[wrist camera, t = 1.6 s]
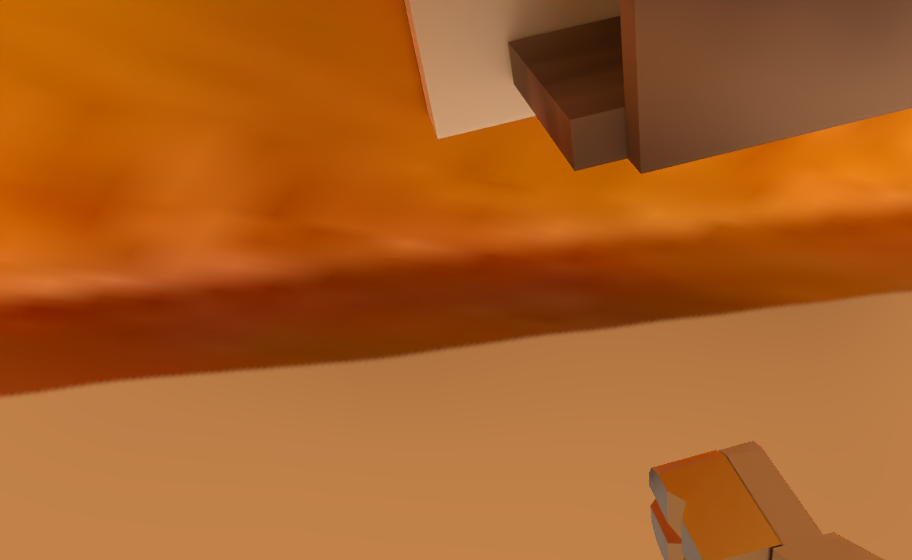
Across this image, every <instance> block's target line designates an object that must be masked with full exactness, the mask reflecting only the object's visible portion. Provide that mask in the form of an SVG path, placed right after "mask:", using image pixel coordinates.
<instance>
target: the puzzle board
mask: <svg viewBox="0 0 912 560" xmlns="http://www.w3.org/2000/svg"><path fill="white" fill-rule="evenodd" d="M404 2H405V6H406V11H407V16H408V21H409V25H410V30H411V35H412V40H413V44H414V49H415V54H416V58H417V63H418V68H419V73H420V77H421V82H422V87H423V92H424V96H425V101H426V106H427V111H428V115H429V118H430V120H431V123H432V125H433V128H434V131H435V133H436V136H437V139H441V138H445V137H449V136H454V135H458V134H462V133H466V132H470V131H475V130H479V129H483V128H487V127H491V126H496V125H500V124H504V123H508V122H512V121H516V120H521V119H525V118H529V117H533V116H536V115H535V114H534V112H533V111H532V109H531V108H530V106H529V105H528V104H527V102H526V101H525V99H524V98H523V97H522V95H521V94H520V92H519V91H518V89H517V88H516V87H515V85H514V82H513V75H512V68H511V61H510V53H509V46H508V42H510V41H515V40H519V39H523V38H527V37H532V36H536V35H540V34H544V33H549V32H553V31H557V30H562V29H566V28H570V27H574V26H579V25H583V24H587V23H591V22H596V21H600V20H604V19H608V18H613V17H617V16H620V0H404Z"/></svg>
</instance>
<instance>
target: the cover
mask: <svg viewBox="0 0 912 560" xmlns="http://www.w3.org/2000/svg"><path fill="white" fill-rule="evenodd" d="M508 46H509V53H510V61H511V68H512V75H513V82H514V85H515V87H516V88H517V89H518V91H519V92H520V94H521V95H522V97H523V98H524V99H525V101H526V102H527V104H528V105H529V106H530V108H531V109H532V111H533V112H534V114H535V115H536V116H537V118H538V119H539V121H540V122H541V124H542V125H543V126H544V128H545V129H546V131H547V132H548V134H549V135H550V136H551V138H552V139H553V141H554V142H555V144H556V145H557V146H558V148H559V149H560V151H561V152H562V154H563V155H564V156H565V158H566V159H567V161H568V162H569V164H570V165H571V166H572V168H573V169H574V171H577V170H581V169H585V168H589V167H593V166H597V165H601V164H606V163H610V162H614V161H618V160H622V159H626V158H628V159H629V160H630V162H631V163H632V164H633V165H634V166H635V167H636V169H637V170H638V171H639V172H640V173H641V174H642V173H646V172H650V171H655V170H659V169H663V168H667V167H671V166H675V165H679V164H683V163H687V162H692V161H696V160H700V159H704V158H708V157H712V156H716V155H720V154H724V153H729V152H733V151H737V150H741V149H745V148H749V147H753V146H757V145H761V144H765V143H770V142H774V141H778V140H782V139H786V138H790V137H794V136H798V135H802V134H807V133H811V132H815V131H819V130H823V129H827V128H831V127H835V126H839V125H844V124H848V123H852V122H856V121H860V120H864V119H868V118H872V117H876V116H881V115H885V114H889V113H893V112H897V111H901V110H905V109H909V108H912V0H620V16H617V17H613V18H608V19H604V20H600V21H596V22H591V23H587V24H583V25H579V26H574V27H570V28H566V29H562V30H557V31H553V32H549V33H544V34H540V35H536V36H532V37H527V38H523V39H519V40H515V41H510V42H508Z"/></svg>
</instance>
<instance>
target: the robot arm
mask: <svg viewBox="0 0 912 560" xmlns="http://www.w3.org/2000/svg"><path fill="white" fill-rule="evenodd" d="M649 485H650V488H651V490H652V492H653V494H654V496H655V498H656V499H655V500H654V502H653V503H652V505H651V506H650V507H651V518H652V524H653V529H654V532H655V537H656V540H657V543H658V546H659V548H660V551H661V554H662V556H663V558H664V560H884V559H882V558H880V557H878V556H876V555H874V554H873V553H871V552H869V551H867V550H865V549H864V548H862V547H860V546H858V545H856V544H854V543H853V542H851V541H849V540H847V539H845V538H843V537H841V536H840V535H838V534H836V533H834V532H833V533H829V534H824V535H823V534H822V532H821V531H820V530H819V528H818V527H817V525H816V524H815V522H814V521H813V519H812V518H811V517H810V515H809V514H808V512H807V511H806V510H805V509H804V507H803V506H802V504H801V502H800V501H799V500H798V498H797V497H796V495H795V494H794V493H793V491H792V490H791V489H790V487H789V486H788V484H787V483H786V481H785V480H784V478H783V477H782V476H781V474H780V473H779V471H778V470H777V468H776V467H775V466H774V464H773V463H772V461H771V460H770V459H769V457H768V456H767V454H766V453H765V452H764V450H763V449H762V447H761V446H760V445H758V444H757V443H755V442H748V443H744V444H740V445H737V446H733V447H730V448H726V449H722V450H719V451H716V450H715V451H711V452H707V453H703V454H700V455H696V456H693V457H689V458H685V459H682V460H678V461H675V462H671V463H667V464H664V465H660V466H657V467H653V468H651V470H650V472H649Z"/></svg>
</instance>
